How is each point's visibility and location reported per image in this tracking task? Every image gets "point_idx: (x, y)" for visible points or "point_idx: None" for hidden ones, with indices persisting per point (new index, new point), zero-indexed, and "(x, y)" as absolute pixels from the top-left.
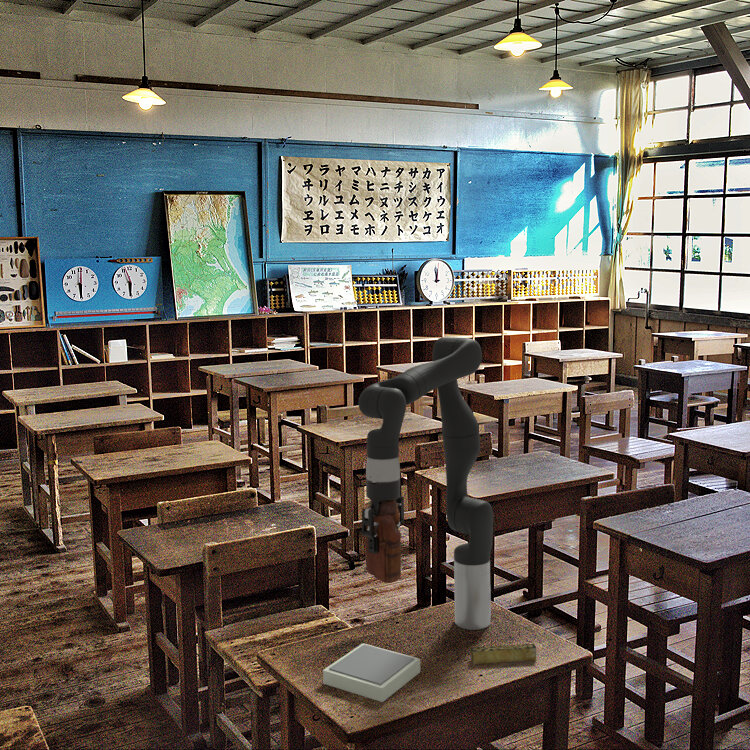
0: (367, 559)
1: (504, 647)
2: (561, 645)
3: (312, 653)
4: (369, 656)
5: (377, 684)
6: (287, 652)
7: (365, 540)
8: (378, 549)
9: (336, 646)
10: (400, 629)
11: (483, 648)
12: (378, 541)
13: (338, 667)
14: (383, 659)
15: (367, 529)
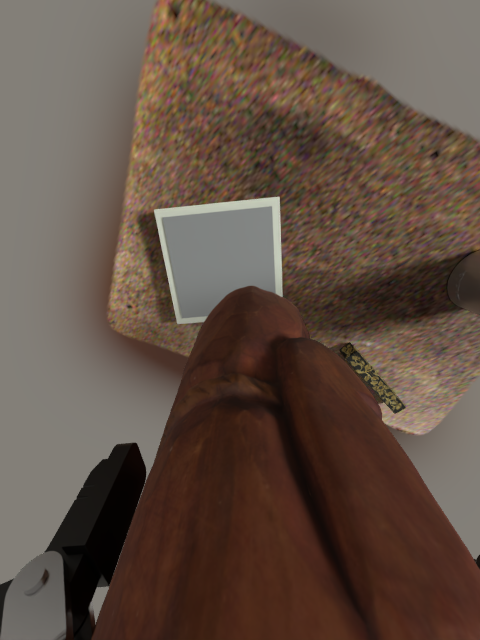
0: (194, 345)
1: (378, 384)
2: (440, 407)
3: (229, 98)
4: (239, 247)
5: (180, 312)
6: (199, 39)
7: (189, 379)
8: (137, 494)
9: (280, 121)
10: (405, 183)
11: (362, 365)
12: (119, 547)
13: (175, 229)
14: (245, 273)
15: (2, 631)
